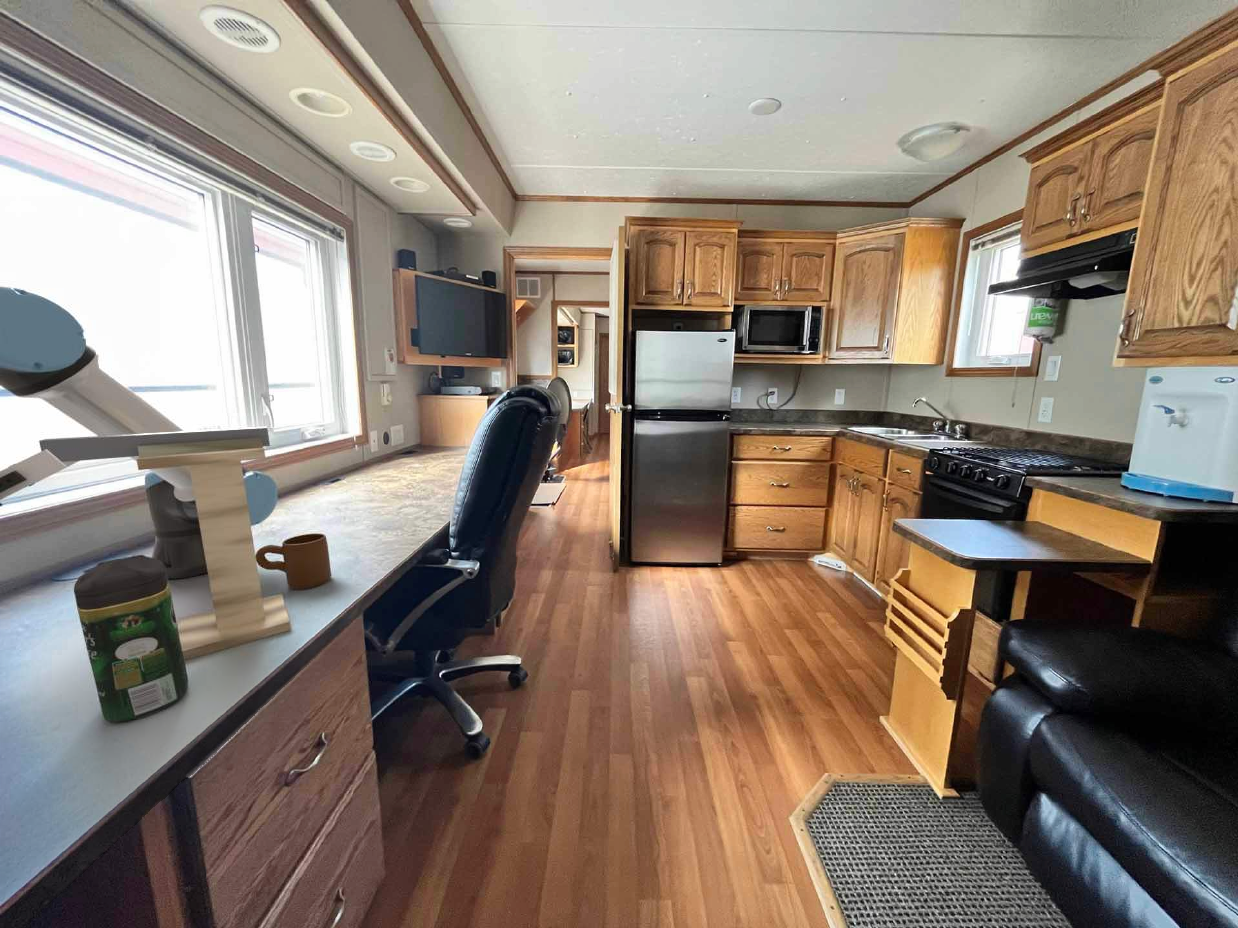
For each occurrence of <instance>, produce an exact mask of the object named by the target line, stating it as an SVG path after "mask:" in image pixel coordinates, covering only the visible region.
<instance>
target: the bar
mask: <svg viewBox="0 0 1238 928" xmlns="http://www.w3.org/2000/svg"><path fill="white" fill-rule="evenodd" d="M269 437H270V436H269V429H268V427H267V426H258V427H257V426H256V427H240V428H237V427H236V428H221V429H204V430H202V429H201V430H200V429H199V430H183V431H181V432H163V433H146V434H128V435H110V436H97V435H96V436H95V435H94V436H78V437H77V436H76V437H61V438H60V437H59V438H57V437H56V438H44V439H41V440H40V439H39V441H38V442H39V443H38V444H39V447H40V452H41V451H44V450H46V449H47V450H48V451H49V452H51V453H52V454H53V455H54V456H55V457H57V458H58V459H59V460H60V461H61V462H69V461H79V462H80V461H91V460H106V459H119V458H131V457H134V456H139V453H138V447H137V446H145V445H160V444H175V443H189V442H204V441H219V440H234V439H249V438H262V444H263V448H264V447H271V445H270V438H269Z"/></svg>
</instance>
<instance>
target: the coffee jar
mask: <svg viewBox="0 0 1238 928" xmlns="http://www.w3.org/2000/svg"><path fill="white" fill-rule="evenodd" d="M169 583H170V582H169V579H168V577H167V574H166V566H165V565H164V564H163V563H162V561H160V560H158V559H155V558H151V556H150V557H149V556H145V555H144V554H139V555H134V556H128V557H121V558H117V559H111V560H106V561H102V562H99V563H98V564H96V565H95V566H93V567H92V568H90V569H89V570H87V571H85V572H84V573H82V574H81V575H80V576H79V577H78V578H77V580H76V582H75V583H74V587H73V594H74V598H75V603H76V604H75V605H76V608H77V613H78V618H79V622H80V627H81V629H82V635H83V638H84V642H85V649H86V651H87V655H88V660H89V662H90V666H91V671H92V676H93V678H94V684H95V688H96V691H97V695H98V700H99V701H98V702H99V704H100V705H99V706H100V709H101V713H102V717H103V719H104V720H105V721H107V722H108V723H113V724H114V723H118V722H125V721H133V720H138V719H141V718H144V717H147V716H150V715H153V714H156V713H158V712H160V711H162V710H163V709H165V708H167V707H168V706H170V705H172V704H174V703H175V702H178V701H179V700H181V699H182V698H183V697H184V696H185V694H186V692H187V690H188V686H189V679H188V673H187V668H186V662H185V661H186V660H184V657H183V652H182V648H181V643H180V638H179V632H178V622H177V618H176V617H177V616H176V613H175V612H176V611H175V607H174V603H173V602H174V601H173V597H172V593H171V588H170V584H169Z"/></svg>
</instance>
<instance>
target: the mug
mask: <svg viewBox="0 0 1238 928" xmlns="http://www.w3.org/2000/svg"><path fill="white" fill-rule="evenodd" d="M281 545H282V546H281ZM281 545H275V544H267V545H264V546H263V547H260V548H259V549H258V550H257V551H256V552H255V556H256V562H257V566H259V567H261V568H262V569H264V570H266V571H267V570H268V571H269V570H270V571H275V570H277V571H281V572H283V573H285V576H286V582H287V586H288V587H289V588H290V589H292V590H296V591H297V590H308V589H312V588H316V587H320V586H322V585H324V584H326V583H328V582H329V581H330V580H331V579H332V578H331V577H332V570H331V562H330V561H331V560H330V553H329V546H328V545H329V544H328V540H327V536H326V535H325V534H323V533H316V532H315V533H306V534H301V535H300V534H299V535H295V536H292V537H288V538H287V539H285V540H283V541H282V543H281ZM266 554H276V555H282V557H283V561H281V560H272V561H271V560H269V559H268V558H266Z"/></svg>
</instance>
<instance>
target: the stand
mask: <svg viewBox="0 0 1238 928" xmlns="http://www.w3.org/2000/svg"><path fill="white" fill-rule="evenodd" d="M137 447H138V453H139V458H138V459H136V460H137V461H136V465H137V470H138V471H146V470H149V469H157V468H168V467H179V466H189V467H190V473H191V478H192V484H193V490H194V496H195V501H196V507H197V513H198V519H199V524H200V530H201V536H202V542H203V547H204V553H205V559H206V565H207V570H208V573H207V574H208V575H207V576H208V579H209V580H208V581H209V587H210V592H211V593H210V594H211V599H212V604H213V610H209V611H205V612H201V613H196V614H192V615H188V616H184V617H181V618H180V617H179V620H178V623H177V627H178V632H179V638H180V643H181V648H182V652H183V657H184V661H188V660H191V659H194V658H197V657H201V656H205V655H208V654H212V653H216V652H218V651H222V650H226V649H229V648H233V647H237V646H240V645H243V644H247V643H251V642H254V641H258V640H262V639H264V638H267V637H271V636H272V637H273V636H274V635H278V634H281V633H282V634H283V633H286V632H290V631H291V622H290V619H289V614H288V611H287V607H286V604H285V601H284V600H285V599H284V598H283V594H282V593H279V594H276V595H275V594H274V595H270V596H266V597H263V595H262V590H261V583H260V576H259V570H258V563H257V562H256V549H255V544H254V537H253V531H252V526H251V524H250V517H249V511H248V504H247V498H246V491H245V485H244V478H243V472H242V466H243V465H242V462H244V461H254V460H255V461H256V460H265V459H267V458H266V453H265V452H266V451H265V448H264V447H263V444H262V438H249V439H234V440H219V441H204V442H189V443H175V444H160V445H145V446H137Z"/></svg>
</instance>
